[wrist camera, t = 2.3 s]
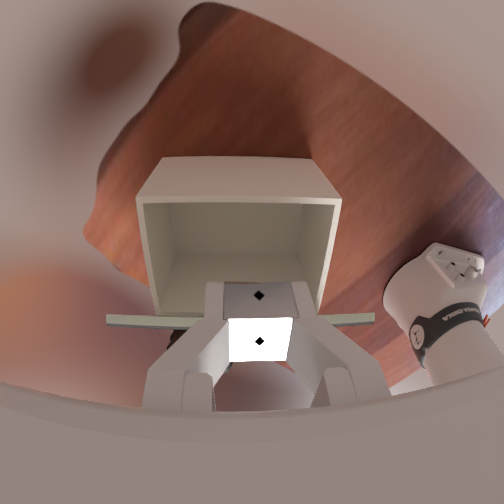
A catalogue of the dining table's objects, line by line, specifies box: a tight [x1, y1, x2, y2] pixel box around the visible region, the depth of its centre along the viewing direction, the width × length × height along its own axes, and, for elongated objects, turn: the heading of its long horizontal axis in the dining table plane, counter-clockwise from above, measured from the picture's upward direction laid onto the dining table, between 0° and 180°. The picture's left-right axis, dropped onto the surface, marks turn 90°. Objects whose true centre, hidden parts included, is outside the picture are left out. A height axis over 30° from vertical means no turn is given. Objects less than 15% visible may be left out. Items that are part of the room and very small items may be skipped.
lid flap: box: [106, 313, 375, 330], centre depth 27 cm, size 18×14×1 cm
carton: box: [135, 156, 342, 316], centre depth 35 cm, size 18×14×12 cm
